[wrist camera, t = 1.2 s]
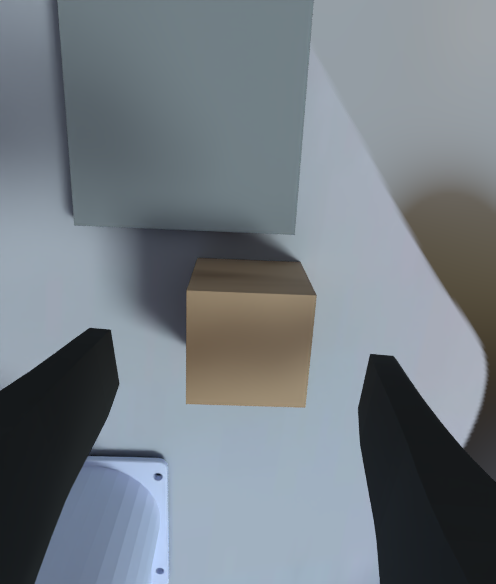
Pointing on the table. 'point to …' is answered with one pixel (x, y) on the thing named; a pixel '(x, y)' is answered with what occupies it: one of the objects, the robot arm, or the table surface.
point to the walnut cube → (248, 333)
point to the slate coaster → (185, 112)
